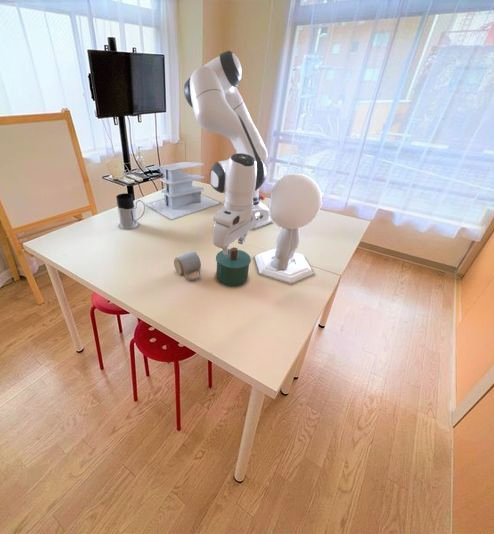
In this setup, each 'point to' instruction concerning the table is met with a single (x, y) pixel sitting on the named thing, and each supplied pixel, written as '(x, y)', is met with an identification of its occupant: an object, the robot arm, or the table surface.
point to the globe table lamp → (290, 227)
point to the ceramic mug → (188, 264)
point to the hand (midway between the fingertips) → (233, 248)
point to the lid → (233, 259)
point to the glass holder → (127, 211)
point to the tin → (232, 276)
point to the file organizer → (181, 192)
